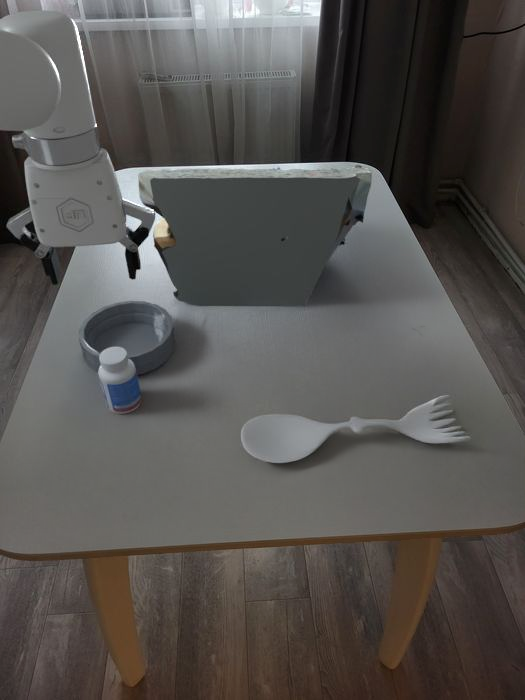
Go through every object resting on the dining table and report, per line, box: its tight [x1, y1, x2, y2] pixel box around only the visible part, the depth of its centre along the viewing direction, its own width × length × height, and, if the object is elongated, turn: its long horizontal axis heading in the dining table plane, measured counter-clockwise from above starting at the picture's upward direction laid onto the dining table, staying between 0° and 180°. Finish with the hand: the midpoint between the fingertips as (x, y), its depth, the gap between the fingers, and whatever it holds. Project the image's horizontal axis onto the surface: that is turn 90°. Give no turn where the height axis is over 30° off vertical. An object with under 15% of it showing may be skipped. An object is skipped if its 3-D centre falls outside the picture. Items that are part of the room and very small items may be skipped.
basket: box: [137, 164, 373, 307], centre depth 107 cm, size 40×31×28 cm
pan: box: [78, 300, 177, 376], centre depth 95 cm, size 16×16×4 cm
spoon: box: [240, 394, 472, 464], centre depth 80 cm, size 9×32×4 cm, turn 96°
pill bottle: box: [97, 347, 143, 415], centre depth 84 cm, size 6×5×10 cm
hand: (95, 276), depth 72 cm, fingers open, 9 cm apart
